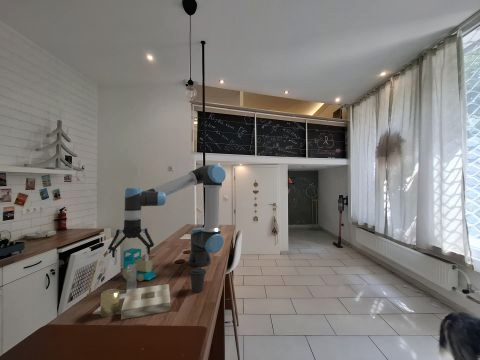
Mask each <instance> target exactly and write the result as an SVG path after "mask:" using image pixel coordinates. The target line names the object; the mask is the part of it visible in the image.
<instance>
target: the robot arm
mask: <svg viewBox="0 0 480 360" xmlns="http://www.w3.org/2000/svg"><path fill="white" fill-rule="evenodd" d="M226 177H227V174H226V171H225V169H224V167H223V166H222V165H220V164H217V163H216V164H215V163H214V164H213V163H212V164H208V165H202V166H200V167H197V168H195V169H193V170H191V171H188V173H187V174H185V175H183V176H179V177H178V178H175V179H173V180H169V181H167V182H164V183H163V184H160V185H157V186H155V187H153V188H149V189H147V190H143V189H142V188H141V187H127V188H125V190H124V212H123V213H124V214H123V218H124V220H123V229H121V228H117V229H116V232H115V235H114V237H113V238H112V241H110V244H109V246H108V247H107V250H108V251H111V257H112V258H114V260H113V265H114V266H116V265H117V264H118V247H119V246H120V245H121V244H122V243H123V242H124V241H125V240H126V239H136V238H137V239H139V240H140V241H141V242H142V244H143V245H144V246H145V254H146V259H145V262H147V255H148V254H149V255H150V254H151V248H152V247H153V248H154V246H155V243H154V241H153V239H152V237H151V236H150V234H149V231H148V227H144V228H141V227H142V219H141V218H142V207H161V206H164V205H165V204H166V202H167V197H168V196H170V195H172V194H174V193H177V192H179V191H181V190H184V189H186V188H189V187H191V186H194V187H195V186H197V185H201V184H202V185H203V187H204V188H205V197H204V198H205V200H204V201H205V202H204V225H203V226H204V227H197V228H192V229H191V230H190V253H189V256H188V259H187V265H188V266H190V267H194V268H201V267H206V266H209V265H211V263H212V259H211V255H210V254H215V253H219V252H220V251H221V250H222V249H223V246H224V244H225V240H224V237H223V235H222V234H221V231H222V229H220V227H219V219H220V218H219V214H220V189H221V188H222V186H223V182H224V181H225V180H226ZM142 232H143V233H144V234H145V237H146V238H147V240H148V241H147V240H146V239H145V238H144V237H143V236H142V235H141V233H142ZM122 233H123V237H121V239H120V240H119V241H118V242H117V243H116V241H117V240H118V237H119V235H121V234H122ZM115 243H116V244H115ZM114 244H115V245H114Z"/></svg>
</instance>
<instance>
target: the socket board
mask: <svg viewBox="0 0 480 360" xmlns="http://www.w3.org/2000/svg"><path fill="white" fill-rule="evenodd" d="M170 292H171V291H170V284H169V283H167V284H166V283H165V284H159V285H158V284H157V285H151V286H145V287H139V288H137V287H136V289H129V290H127V293H125V297H124V299H123V304H122V307H121V311H120V316H121V317H120V321H121V320H127V319H132V318H137V317H143V316H149V315H154V314H158V313H159V314H160V313H165V312H170V311H171V293H170Z"/></svg>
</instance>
